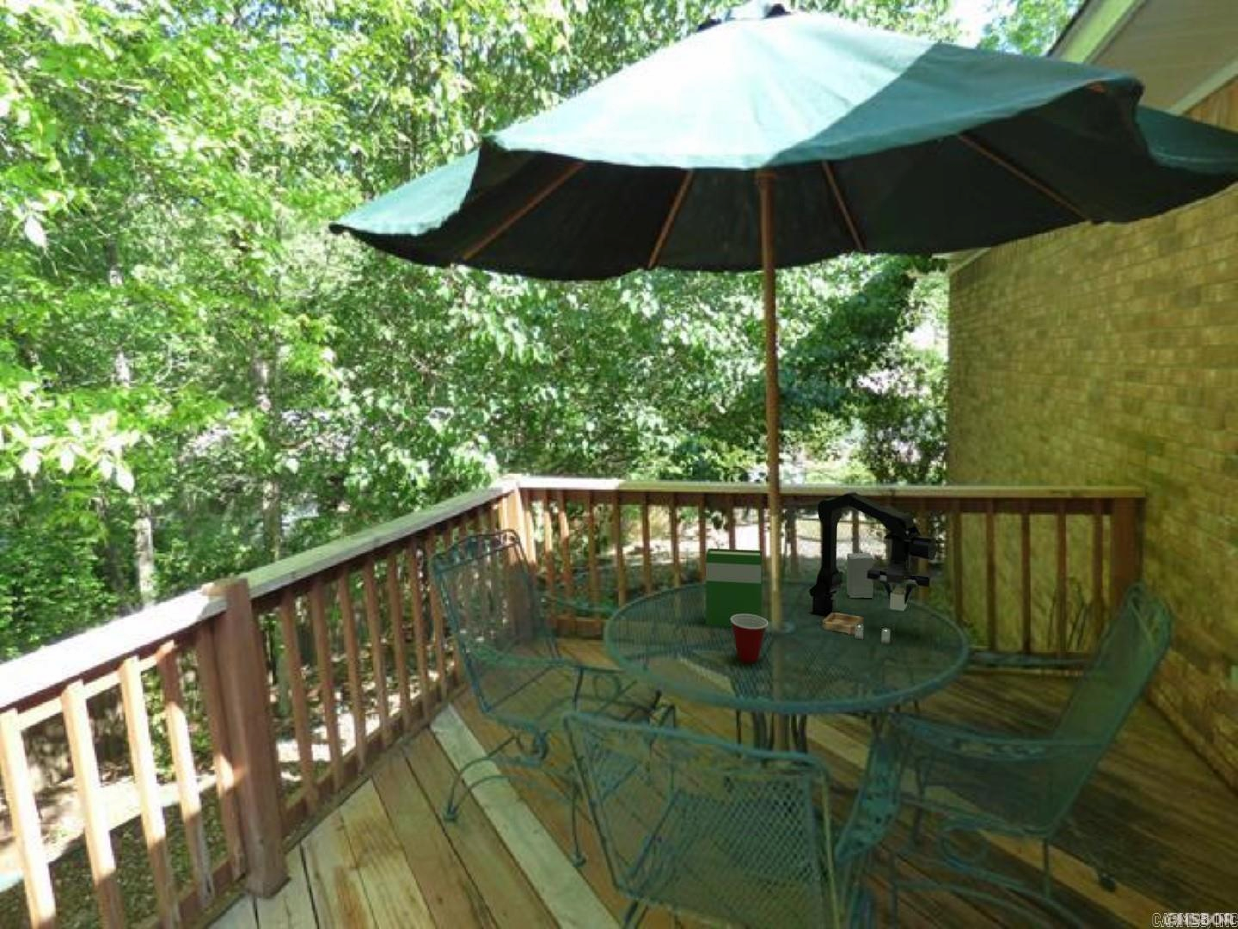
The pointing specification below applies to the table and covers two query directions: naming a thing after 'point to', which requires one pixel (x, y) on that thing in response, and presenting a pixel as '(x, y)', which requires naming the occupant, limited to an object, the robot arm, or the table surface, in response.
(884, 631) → the peg
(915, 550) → the robot arm
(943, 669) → the table surface
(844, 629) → the wooden tray
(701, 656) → the table surface
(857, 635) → the peg
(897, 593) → the plug block
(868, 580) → the skincare box
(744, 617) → the plastic cup
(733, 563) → the hardback book
